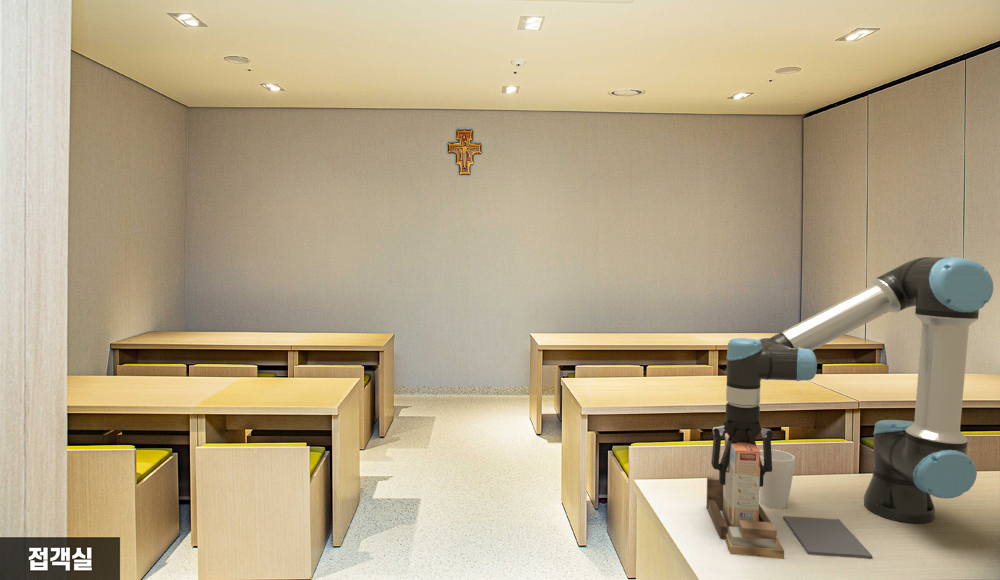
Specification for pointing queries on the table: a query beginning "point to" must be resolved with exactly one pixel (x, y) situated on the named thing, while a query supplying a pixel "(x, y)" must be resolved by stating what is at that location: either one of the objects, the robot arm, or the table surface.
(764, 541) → the offcut stack
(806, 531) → the mat
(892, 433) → the robot arm
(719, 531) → the rack
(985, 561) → the table surface
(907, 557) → the table surface
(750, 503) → the cracker box
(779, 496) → the foam cup
